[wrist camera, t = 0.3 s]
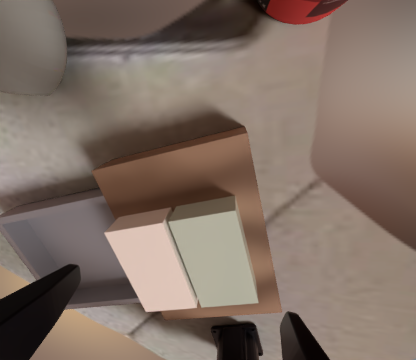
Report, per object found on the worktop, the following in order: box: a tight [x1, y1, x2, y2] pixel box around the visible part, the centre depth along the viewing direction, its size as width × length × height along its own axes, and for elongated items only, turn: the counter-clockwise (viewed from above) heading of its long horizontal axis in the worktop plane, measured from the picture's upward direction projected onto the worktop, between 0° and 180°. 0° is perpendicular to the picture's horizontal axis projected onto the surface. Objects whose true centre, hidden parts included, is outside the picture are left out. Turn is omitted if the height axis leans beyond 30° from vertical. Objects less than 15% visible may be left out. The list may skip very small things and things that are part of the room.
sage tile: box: [168, 196, 258, 308], centre depth 19 cm, size 10×6×2 cm, turn 15°
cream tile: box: [104, 207, 198, 312], centre depth 20 cm, size 10×6×2 cm, turn 15°
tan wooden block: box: [92, 127, 282, 320], centre depth 22 cm, size 20×14×4 cm
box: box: [0, 188, 141, 310], centre depth 25 cm, size 15×15×3 cm
